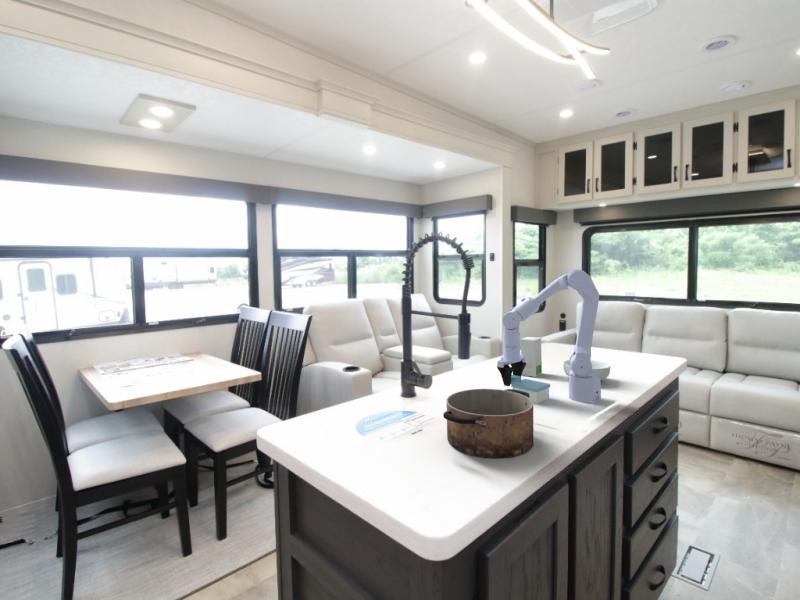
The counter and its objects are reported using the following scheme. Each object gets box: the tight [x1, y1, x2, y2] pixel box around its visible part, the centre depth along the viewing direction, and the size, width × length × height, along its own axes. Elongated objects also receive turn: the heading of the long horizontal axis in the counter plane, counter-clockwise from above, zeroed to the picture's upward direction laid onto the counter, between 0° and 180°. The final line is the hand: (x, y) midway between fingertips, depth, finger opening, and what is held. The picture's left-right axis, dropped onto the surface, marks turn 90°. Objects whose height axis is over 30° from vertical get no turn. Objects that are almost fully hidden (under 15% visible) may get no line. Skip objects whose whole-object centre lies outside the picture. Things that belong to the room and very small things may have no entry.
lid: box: [510, 374, 551, 392], centre depth 141 cm, size 14×9×2 cm, turn 42°
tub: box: [512, 387, 550, 405], centre depth 140 cm, size 9×8×4 cm
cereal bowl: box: [563, 359, 611, 381], centre depth 161 cm, size 17×17×7 cm
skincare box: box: [520, 336, 543, 378], centre depth 173 cm, size 8×7×16 cm
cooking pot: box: [442, 388, 535, 459], centre depth 108 cm, size 30×22×11 cm
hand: (512, 383), depth 145 cm, fingers open, 6 cm apart
